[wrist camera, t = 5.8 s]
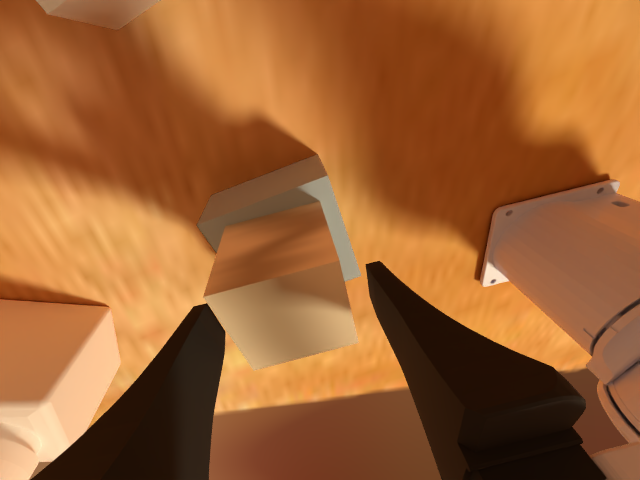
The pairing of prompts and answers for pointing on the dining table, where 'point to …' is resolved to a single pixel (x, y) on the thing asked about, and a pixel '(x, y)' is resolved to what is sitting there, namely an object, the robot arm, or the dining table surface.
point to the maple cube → (281, 287)
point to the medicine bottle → (50, 378)
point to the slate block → (280, 205)
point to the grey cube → (98, 10)
